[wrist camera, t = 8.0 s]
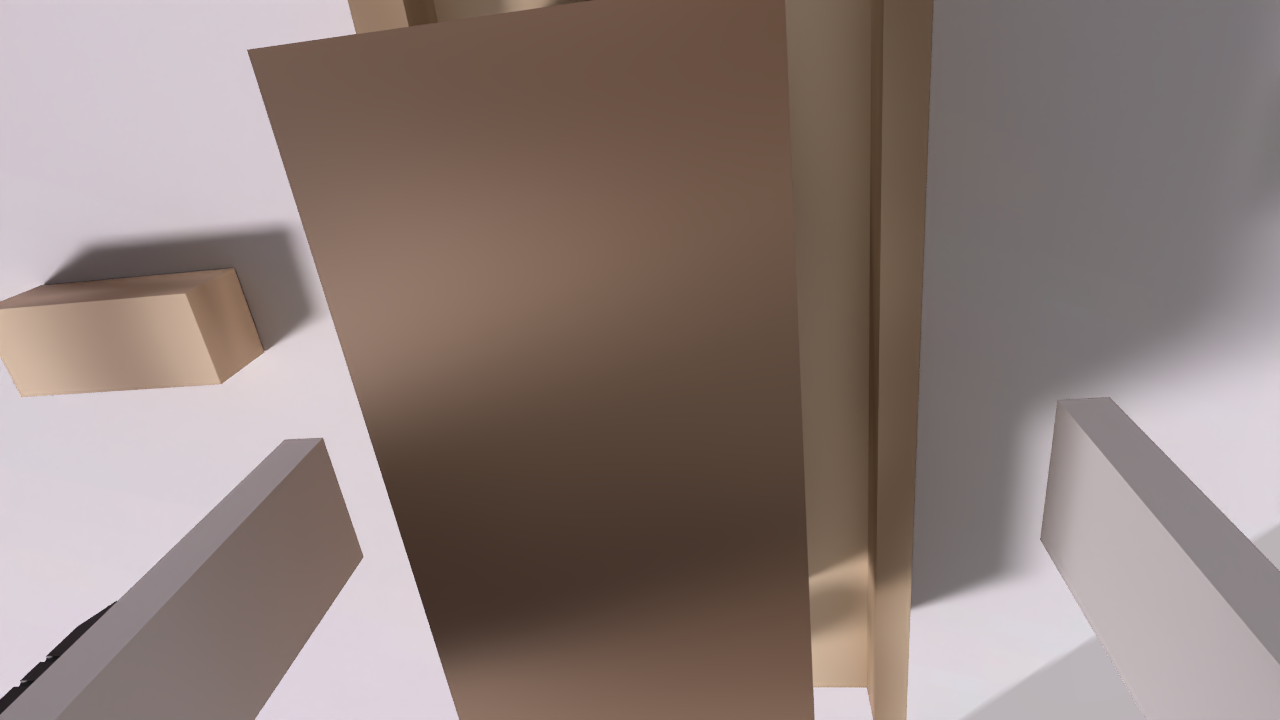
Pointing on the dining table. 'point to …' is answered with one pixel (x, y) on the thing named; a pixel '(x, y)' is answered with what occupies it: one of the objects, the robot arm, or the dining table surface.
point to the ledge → (839, 308)
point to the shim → (128, 333)
